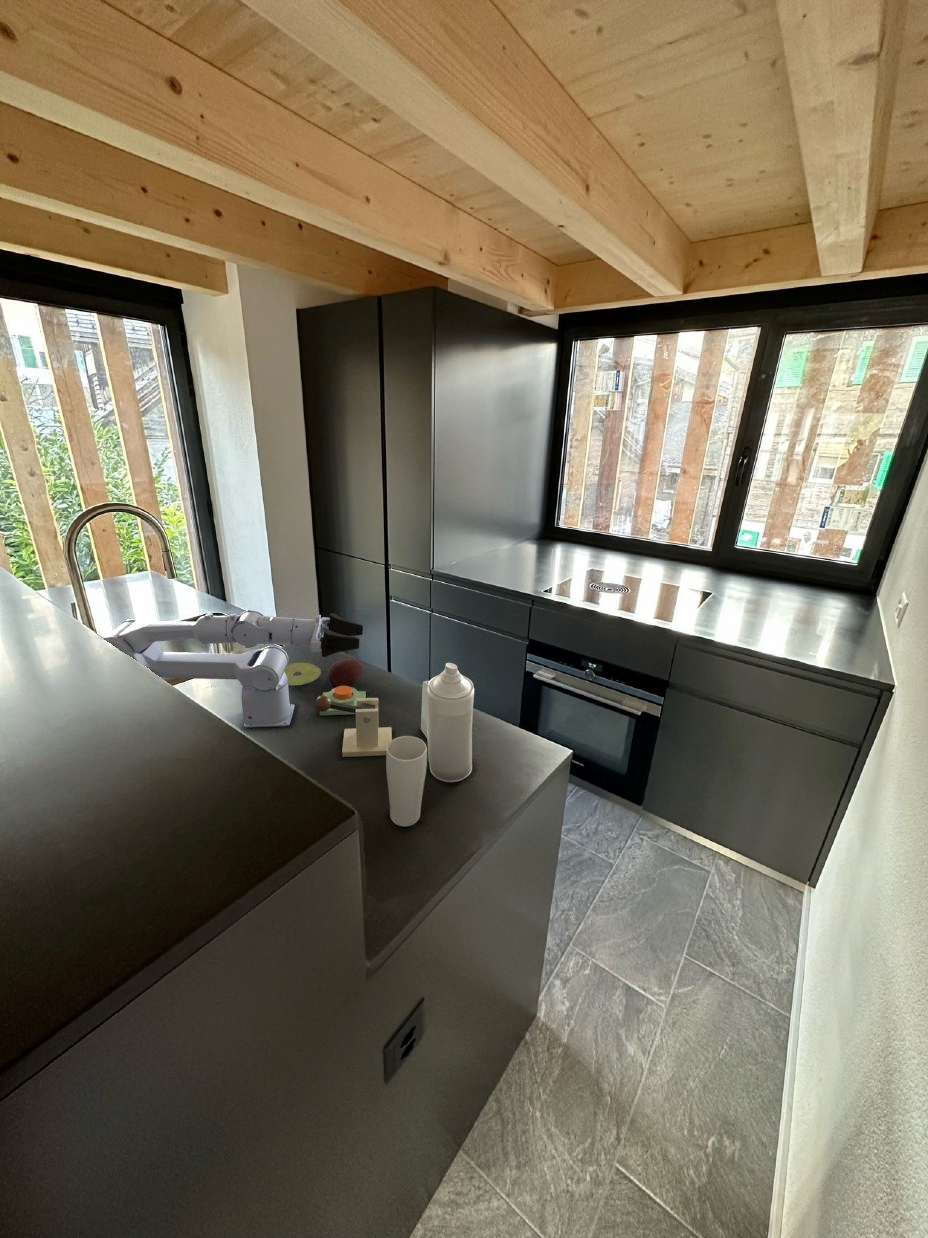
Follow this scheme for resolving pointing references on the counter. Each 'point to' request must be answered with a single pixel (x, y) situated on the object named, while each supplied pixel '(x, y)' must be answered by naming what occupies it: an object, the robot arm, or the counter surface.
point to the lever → (338, 705)
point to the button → (342, 692)
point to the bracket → (366, 733)
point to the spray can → (450, 724)
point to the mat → (301, 673)
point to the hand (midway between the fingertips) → (361, 636)
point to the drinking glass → (406, 778)
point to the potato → (344, 672)
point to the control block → (343, 701)
